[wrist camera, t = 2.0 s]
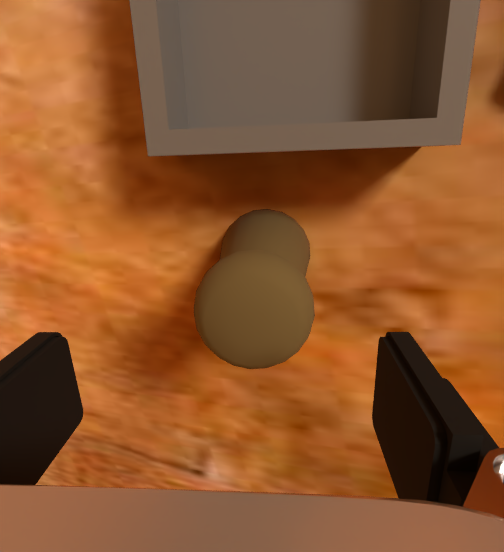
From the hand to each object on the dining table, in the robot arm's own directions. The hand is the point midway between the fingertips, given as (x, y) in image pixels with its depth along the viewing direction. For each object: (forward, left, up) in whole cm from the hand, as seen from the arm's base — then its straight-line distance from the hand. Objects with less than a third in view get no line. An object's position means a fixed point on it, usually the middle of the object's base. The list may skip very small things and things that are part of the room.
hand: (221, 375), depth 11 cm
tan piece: (0, -1, -15) cm, 15 cm away
